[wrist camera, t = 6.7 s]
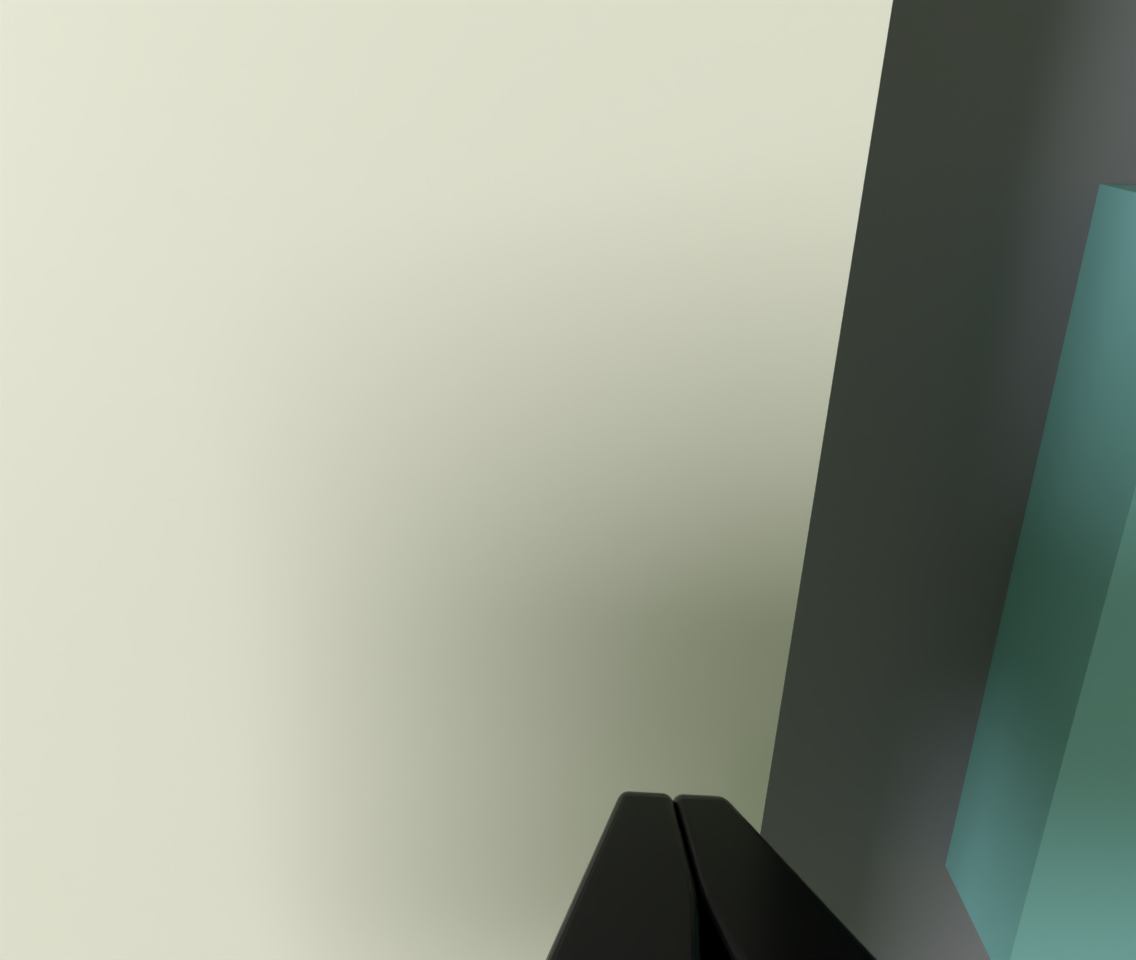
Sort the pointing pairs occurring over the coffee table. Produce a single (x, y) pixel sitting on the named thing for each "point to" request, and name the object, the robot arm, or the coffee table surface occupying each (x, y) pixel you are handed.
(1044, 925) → the block
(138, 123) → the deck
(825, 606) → the mat
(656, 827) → the robot arm
